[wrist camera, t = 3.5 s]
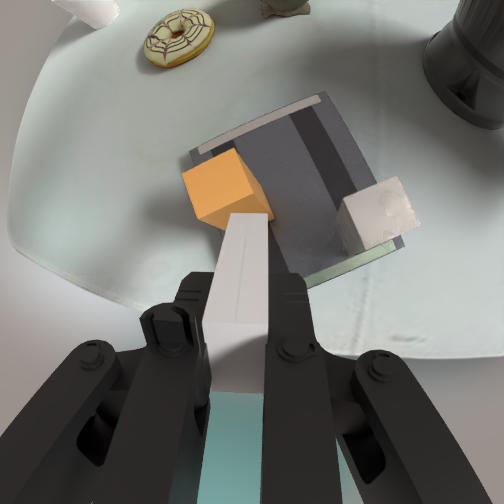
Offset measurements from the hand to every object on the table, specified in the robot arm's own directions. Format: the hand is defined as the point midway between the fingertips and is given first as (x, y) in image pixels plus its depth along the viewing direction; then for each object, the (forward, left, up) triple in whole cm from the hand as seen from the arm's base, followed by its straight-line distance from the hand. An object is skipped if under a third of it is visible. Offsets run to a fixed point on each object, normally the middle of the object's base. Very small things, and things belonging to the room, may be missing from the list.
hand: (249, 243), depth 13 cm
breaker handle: (-5, -3, -16) cm, 17 cm away
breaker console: (-6, +1, -19) cm, 20 cm away
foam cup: (-48, -31, -19) cm, 61 cm away
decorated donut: (-32, -13, -20) cm, 40 cm away
